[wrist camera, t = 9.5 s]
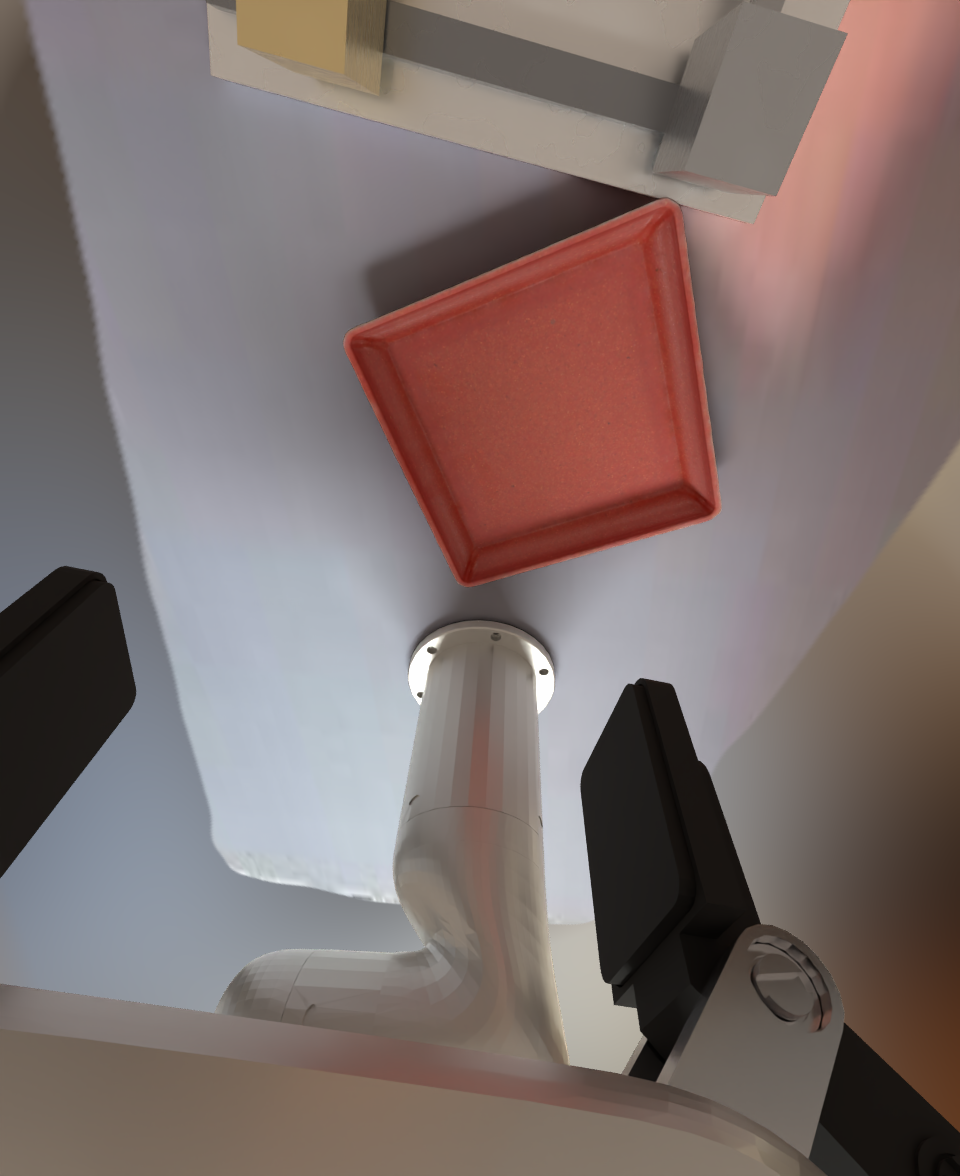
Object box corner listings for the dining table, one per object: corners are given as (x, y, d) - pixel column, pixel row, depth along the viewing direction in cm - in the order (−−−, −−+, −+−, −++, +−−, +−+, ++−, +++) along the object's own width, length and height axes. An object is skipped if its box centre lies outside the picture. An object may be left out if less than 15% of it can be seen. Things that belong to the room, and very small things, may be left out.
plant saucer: (665, 188, 28) (681, 189, 25) (710, 494, 38) (725, 518, 35) (350, 322, 32) (335, 335, 30) (463, 565, 42) (460, 591, 39)
